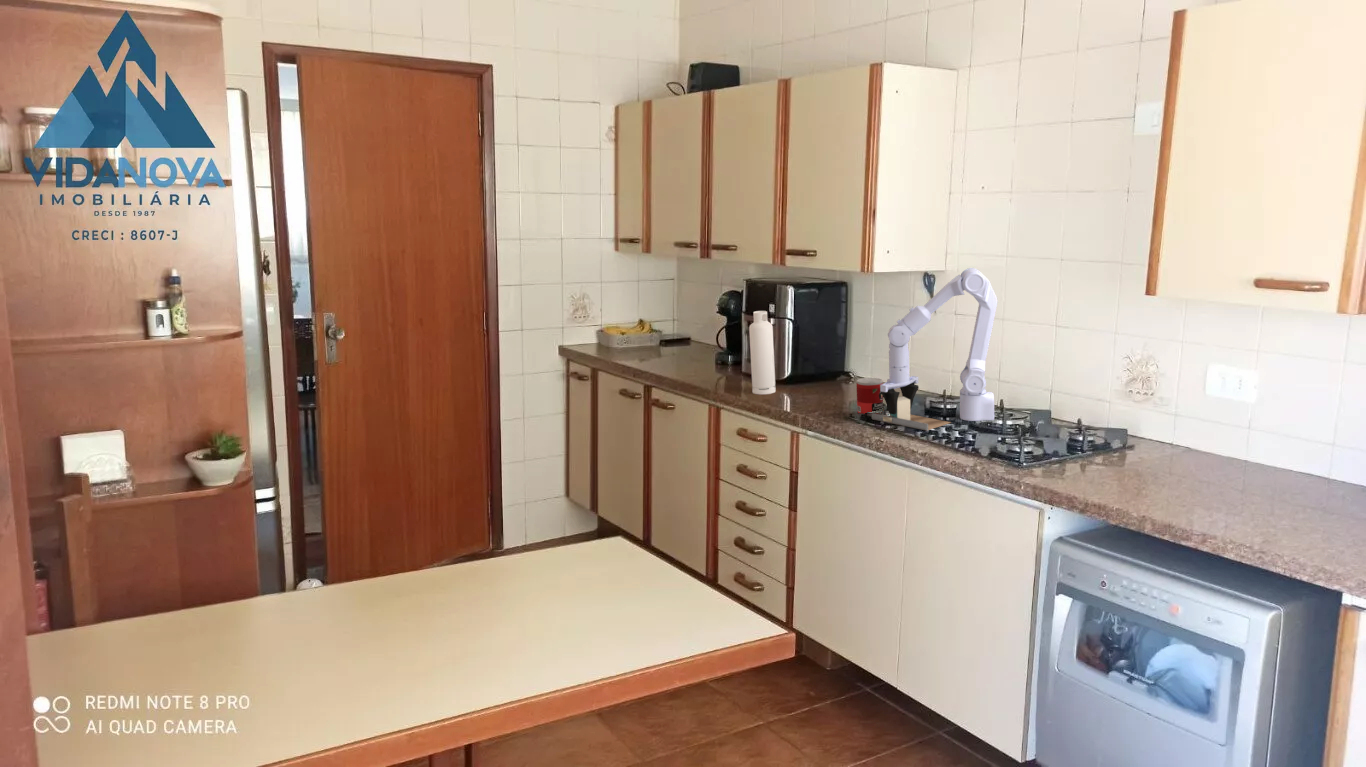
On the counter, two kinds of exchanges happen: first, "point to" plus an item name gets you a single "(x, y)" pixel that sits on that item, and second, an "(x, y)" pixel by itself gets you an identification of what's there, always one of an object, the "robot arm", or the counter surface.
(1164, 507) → the counter surface
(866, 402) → the canned food
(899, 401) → the carton
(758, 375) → the bottle
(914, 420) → the shelf
